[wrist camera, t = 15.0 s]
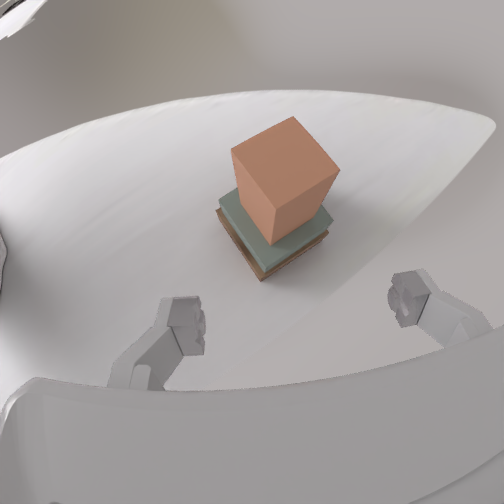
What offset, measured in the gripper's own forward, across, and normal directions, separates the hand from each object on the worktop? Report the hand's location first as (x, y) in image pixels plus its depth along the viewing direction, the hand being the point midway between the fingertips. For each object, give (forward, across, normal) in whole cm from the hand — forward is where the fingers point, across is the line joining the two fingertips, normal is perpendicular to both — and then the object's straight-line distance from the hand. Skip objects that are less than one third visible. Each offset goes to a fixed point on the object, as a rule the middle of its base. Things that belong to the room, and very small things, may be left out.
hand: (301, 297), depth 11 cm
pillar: (+16, -1, +4) cm, 17 cm away
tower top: (+19, -1, +7) cm, 20 cm away
